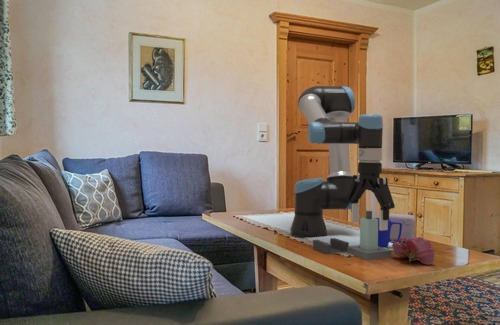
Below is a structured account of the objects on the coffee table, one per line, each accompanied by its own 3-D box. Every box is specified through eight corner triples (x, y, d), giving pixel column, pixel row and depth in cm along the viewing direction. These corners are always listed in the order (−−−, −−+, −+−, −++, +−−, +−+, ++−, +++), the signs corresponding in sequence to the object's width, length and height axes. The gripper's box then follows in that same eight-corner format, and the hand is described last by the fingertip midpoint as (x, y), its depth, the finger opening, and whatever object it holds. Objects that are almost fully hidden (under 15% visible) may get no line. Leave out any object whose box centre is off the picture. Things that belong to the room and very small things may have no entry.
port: (346, 254, 131) (346, 245, 131) (370, 251, 136) (370, 242, 136) (367, 261, 122) (367, 252, 122) (391, 258, 126) (391, 249, 126)
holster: (313, 250, 137) (313, 240, 137) (334, 248, 140) (334, 238, 140) (326, 255, 129) (326, 245, 129) (348, 253, 133) (348, 242, 133)
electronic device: (386, 240, 153) (386, 214, 153) (388, 238, 158) (388, 213, 157) (413, 243, 149) (414, 216, 149) (414, 240, 153) (415, 215, 153)
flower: (402, 267, 128) (418, 241, 129) (425, 279, 119) (442, 251, 120) (380, 250, 124) (397, 223, 125) (402, 260, 115) (420, 232, 116)
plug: (359, 254, 130) (360, 210, 130) (369, 252, 132) (369, 210, 131) (368, 256, 126) (368, 212, 126) (377, 255, 128) (378, 211, 128)
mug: (403, 250, 137) (404, 222, 137) (367, 248, 139) (368, 220, 139) (399, 245, 145) (400, 218, 145) (365, 243, 147) (366, 217, 147)
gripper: (337, 160, 138) (336, 220, 139) (388, 163, 115) (387, 234, 116) (354, 160, 141) (353, 218, 142) (407, 163, 119) (406, 232, 119)
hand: (368, 226), depth 129 cm, fingers open, 13 cm apart
